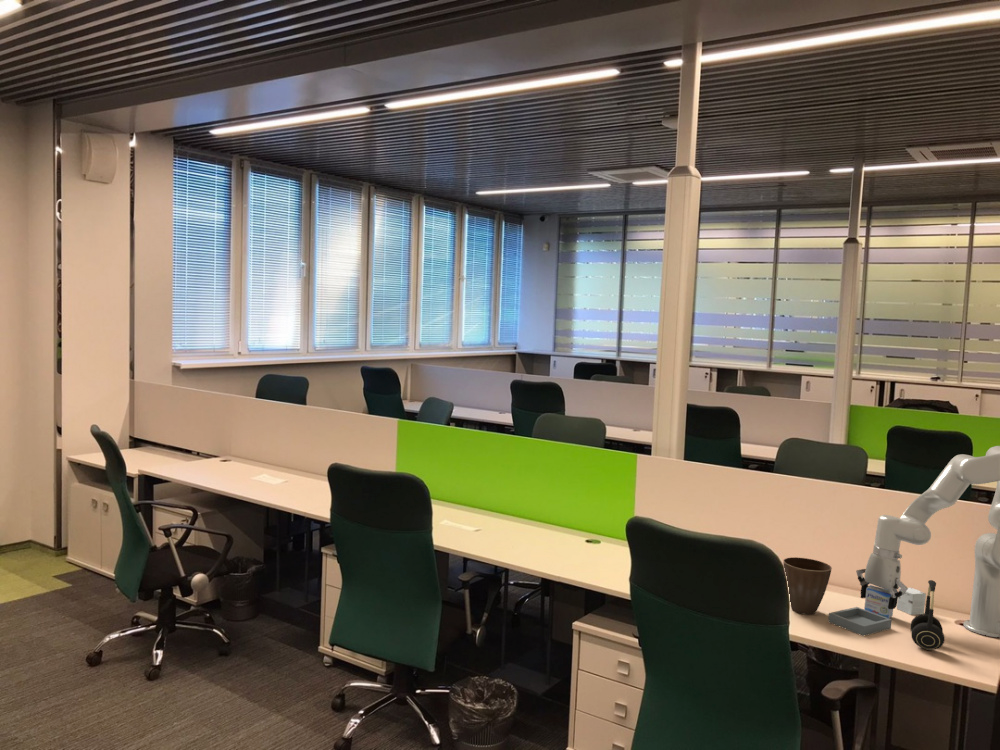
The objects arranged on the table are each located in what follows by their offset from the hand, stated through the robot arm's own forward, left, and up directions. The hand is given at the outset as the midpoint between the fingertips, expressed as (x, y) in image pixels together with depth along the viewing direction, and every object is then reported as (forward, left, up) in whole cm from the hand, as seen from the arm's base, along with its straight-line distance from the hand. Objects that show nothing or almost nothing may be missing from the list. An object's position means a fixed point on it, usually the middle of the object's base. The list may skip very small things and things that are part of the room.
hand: (877, 603), depth 254 cm
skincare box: (-2, -16, -5) cm, 17 cm away
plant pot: (+13, +21, -5) cm, 25 cm away
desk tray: (-3, +15, -4) cm, 16 cm away
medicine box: (0, -2, -4) cm, 5 cm away
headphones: (-22, +11, -5) cm, 25 cm away
